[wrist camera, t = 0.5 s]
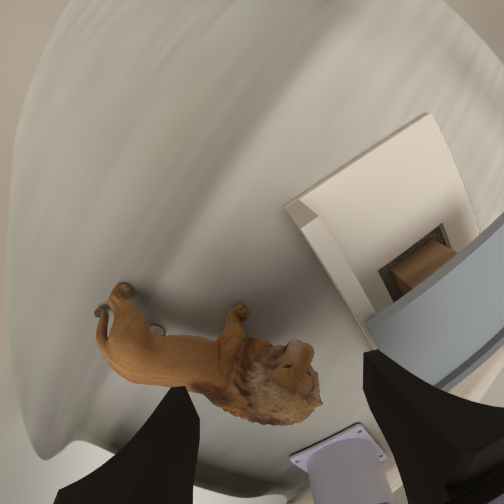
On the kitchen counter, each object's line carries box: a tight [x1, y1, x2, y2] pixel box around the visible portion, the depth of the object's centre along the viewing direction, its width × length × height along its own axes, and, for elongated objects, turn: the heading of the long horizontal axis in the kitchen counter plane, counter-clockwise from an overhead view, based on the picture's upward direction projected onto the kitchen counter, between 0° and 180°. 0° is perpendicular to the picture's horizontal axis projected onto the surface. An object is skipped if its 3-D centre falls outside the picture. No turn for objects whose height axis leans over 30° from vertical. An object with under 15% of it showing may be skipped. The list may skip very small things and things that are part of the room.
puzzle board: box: [283, 113, 480, 350], centre depth 18 cm, size 20×12×6 cm, turn 35°
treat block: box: [390, 238, 458, 296], centre depth 19 cm, size 4×4×5 cm
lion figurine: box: [94, 283, 323, 426], centre depth 17 cm, size 15×5×9 cm, turn 87°
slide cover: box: [365, 213, 504, 392], centre depth 15 cm, size 8×11×1 cm
